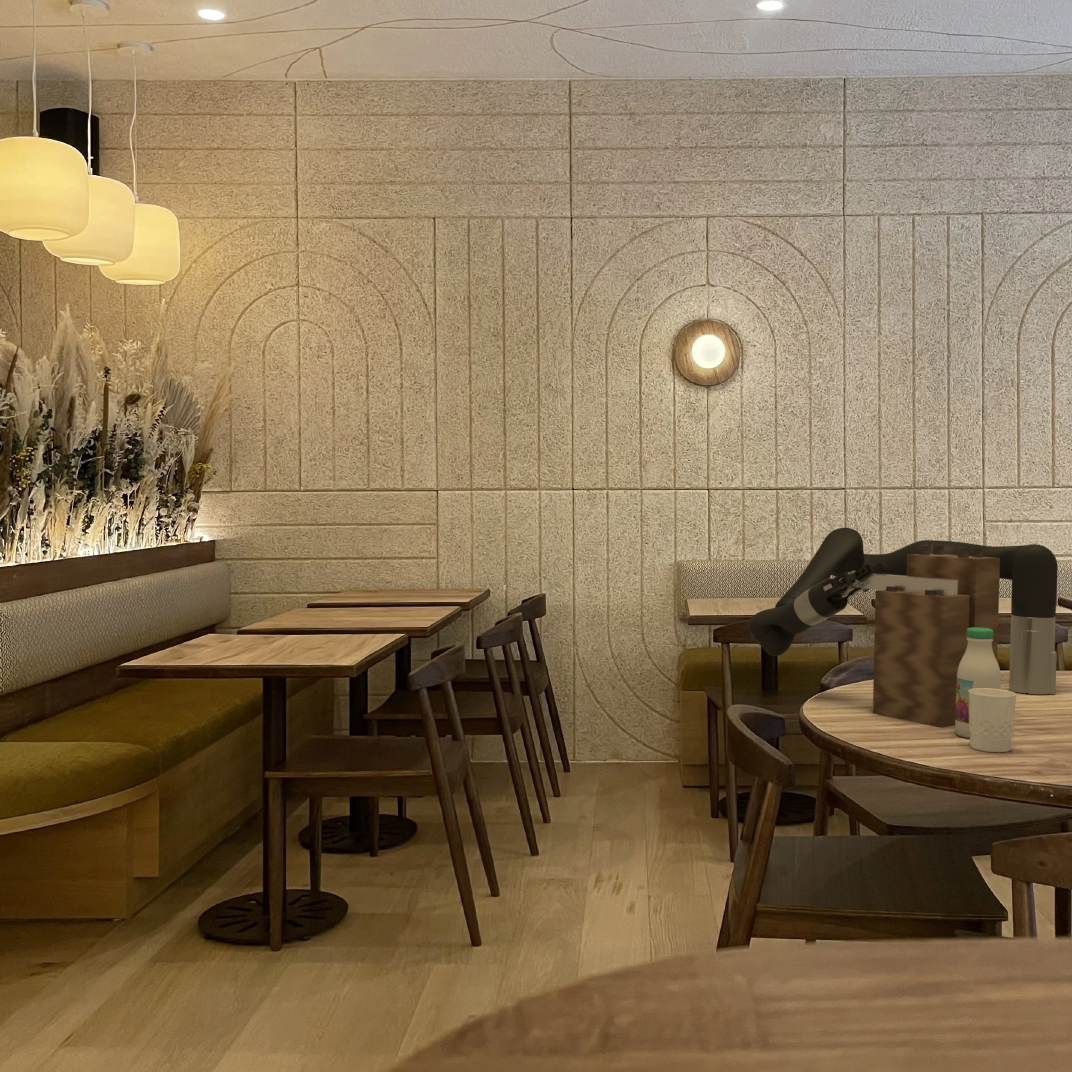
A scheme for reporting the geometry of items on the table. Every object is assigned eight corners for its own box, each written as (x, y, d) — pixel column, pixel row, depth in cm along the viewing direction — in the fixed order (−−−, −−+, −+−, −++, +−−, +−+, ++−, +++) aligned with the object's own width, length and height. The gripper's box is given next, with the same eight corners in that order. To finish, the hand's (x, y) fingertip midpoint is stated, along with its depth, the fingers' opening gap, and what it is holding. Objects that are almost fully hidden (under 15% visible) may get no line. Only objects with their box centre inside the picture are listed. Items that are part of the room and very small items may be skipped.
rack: (872, 713, 232) (876, 546, 230) (926, 704, 242) (930, 544, 241) (941, 727, 219) (946, 550, 217) (995, 716, 230) (1000, 547, 228)
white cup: (958, 743, 205) (960, 688, 205) (1001, 743, 206) (1002, 688, 206) (979, 753, 198) (981, 696, 197) (1023, 753, 198) (1025, 696, 198)
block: (847, 586, 240) (847, 572, 239) (856, 586, 241) (857, 571, 241) (948, 596, 220) (948, 580, 220) (957, 595, 222) (957, 579, 222)
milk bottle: (998, 733, 214) (1001, 627, 213) (1000, 742, 207) (1003, 632, 206) (954, 730, 217) (957, 625, 216) (955, 738, 209) (958, 629, 209)
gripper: (791, 588, 245) (848, 551, 232) (835, 585, 253) (892, 550, 240) (804, 620, 242) (863, 585, 229) (848, 616, 250) (907, 582, 238)
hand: (877, 567), depth 235 cm, fingers open, 3 cm apart
